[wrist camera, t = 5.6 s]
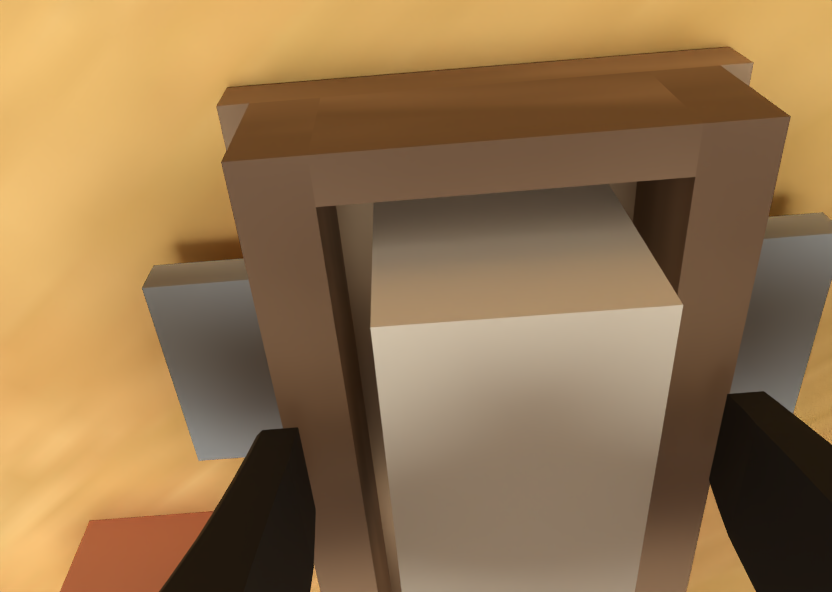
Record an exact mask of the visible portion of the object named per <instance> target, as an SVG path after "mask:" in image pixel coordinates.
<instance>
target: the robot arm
mask: <svg viewBox="0 0 832 592" xmlns="http://www.w3.org/2000/svg"><path fill="white" fill-rule="evenodd" d="M709 482H710V485H711V488H712V491H713V494H714V497H715V500H716V503H717V506H718V509H719V511H720V514H721V517H722V520H723V522H724V525H725V528H726V530H727V533H728V536H729V538H730V540H731V542H732V544H733V546H734V548H735V550H736V552H737V554H738V556H739V558H740V560H741V562H742V564H743V566H744V568H745V570H746V573H747V575H748V577H749V579H750V581H751V583H752V585H753V586H754V588H755V590H756V592H832V445H831V444H830V443H829V442H828V441H826V440H825V439H824V438H823V437H821V436H820V435H819V434H817V433H816V432H815V431H814V430H812V429H811V428H810V427H809V426H808V425H806V424H805V423H804V422H803V421H801V420H800V419H799V418H798V417H796V416H795V415H794V414H793V413H791V412H790V411H789V410H788V409H786V408H785V407H784V406H783V405H781V404H780V403H779V402H778V401H776V400H775V399H774V398H772V397H771V396H770V395H768V394H767V393H766V392H764V391H759V392H746V393H733V394H727V398H726V402H725V407H724V412H723V416H722V421H721V425H720V430H719V435H718V439H717V444H716V448H715V453H714V458H713V462H712V467H711V471H710V476H709ZM315 521H316V508H315V503H314V499H313V494H312V489H311V485H310V480H309V476H308V471H307V466H306V462H305V457H304V452H303V448H302V443H301V438H300V434H299V429H298V427H294V428H281V429H269V430H262V431H261V432H260V433H259V434H258V435H257V436H256V438H255V440H254V442H253V444H252V446H251V448H250V449H249V451H248V453H247V455H246V457H245V459H244V461H243V462H242V464H241V466H240V468H239V470H238V471H237V473H236V475H235V477H234V478H233V480H232V482H231V484H230V485H229V487H228V489H227V490H226V492H225V494H224V496H223V497H222V499H221V500H220V502H219V504H218V505H217V507H216V508H215V510H214V512H213V513H212V515H211V516H210V518H209V520H208V521H207V523H206V524H205V526H204V528H203V529H202V531H201V532H200V534H199V535H198V537H197V538H196V540H195V541H194V543H193V544H192V546H191V547H190V549H189V550H188V551H187V553H186V554H185V556H184V557H183V559H182V560H181V561H180V563H179V564H178V566H177V567H176V568H175V570H174V571H173V573H172V574H171V576H170V577H169V578H168V580H167V581H166V583H165V584H164V585H163V587H162V588H161V589H160V591H159V592H310V589H311V582H312V575H313V568H314V548H315Z"/></svg>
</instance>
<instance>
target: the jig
mask: <svg viewBox="0 0 832 592" xmlns="http://www.w3.org/2000/svg"><path fill="white" fill-rule="evenodd" d="M752 68H753V62H752V61H750V60H749V59H747V58H746V57H744V56H743V55H741V54H739V53H738V52H736V51H735V50H733V49H732V48H730V47H724V48H712V49H699V50H687V51H674V52H662V53H650V54H637V55H625V56H613V57H600V58H588V59H576V60H563V61H551V62H539V63H526V64H514V65H502V66H489V67H477V68H464V69H452V70H440V71H427V72H415V73H403V74H390V75H378V76H366V77H353V78H341V79H329V80H316V81H304V82H292V83H279V84H267V85H254V86H242V87H230V88H227V89H226V91H225V92H224V94H223V96H222V97H221V99H220V101H219V103H218V104H217V111H218V115H219V120H220V124H221V129H222V133H223V137H224V142H225V146H226V153H225V155H224V157H223V160H222V162H221V163H222V167H223V172H224V176H225V180H226V185H227V189H228V193H229V198H230V202H231V206H232V211H233V215H234V219H235V224H236V228H237V232H238V237H239V241H240V245H241V250H242V254H243V258H242V259H229V260H217V261H204V262H191V263H179V264H166V265H154V266H153V268H152V270H151V272H150V274H149V276H148V278H147V279H146V281H145V283H144V285H143V287H142V290H143V293H144V296H145V299H146V302H147V305H148V308H149V311H150V314H151V317H152V320H153V323H154V326H155V329H156V332H157V335H158V338H159V341H160V344H161V347H162V350H163V353H164V357H165V360H166V363H167V366H168V369H169V372H170V375H171V378H172V381H173V384H174V387H175V390H176V393H177V396H178V399H179V402H180V405H181V408H182V411H183V414H184V417H185V420H186V423H187V426H188V430H189V433H190V436H191V439H192V442H193V445H194V448H195V451H196V454H197V457H198V460H199V461H202V460H215V459H227V458H240V457H246V455H247V453H248V451H249V449H250V448H251V446H252V444H253V442H254V440H255V438H256V436H257V435H258V434H259V433H260V432H261V431H262V430H269V429H281V428H294V427H298V429H299V434H300V438H301V443H302V448H303V452H304V457H305V462H306V466H307V471H308V476H309V480H310V485H311V489H312V494H313V499H314V503H315V508H316V521H315V548H314V565H315V569H316V574H317V578H318V582H319V587H320V591H321V592H402V591H401V582H400V574H399V565H398V557H397V548H396V540H395V532H394V523H393V515H392V506H391V498H390V489H389V481H388V472H387V464H386V455H385V447H384V439H383V430H382V422H381V413H380V405H379V396H378V388H377V379H376V371H375V363H374V354H373V346H372V337H371V329H370V321H371V283H372V245H373V207H374V202H387V201H399V200H412V199H424V198H437V197H450V196H462V195H475V194H487V193H500V192H512V191H525V190H537V189H550V188H562V187H575V186H588V185H600V184H609V185H610V187H611V189H612V190H613V192H614V193H615V195H616V197H617V198H618V200H619V202H620V203H621V205H622V206H623V208H624V210H625V211H626V213H627V215H628V216H629V218H630V219H631V221H632V223H633V224H634V226H635V227H636V229H637V231H638V232H639V234H640V236H641V237H642V239H643V240H644V242H645V244H646V245H647V247H648V249H649V250H650V252H651V253H652V255H653V257H654V258H655V260H656V262H657V263H658V265H659V266H660V268H661V270H662V271H663V273H664V274H665V276H666V278H667V279H668V281H669V283H670V284H671V286H672V287H673V289H674V291H675V292H676V294H677V296H678V297H679V299H680V300H681V302H682V304H683V310H682V316H681V321H680V327H679V333H678V339H677V345H676V351H675V357H674V363H673V369H672V375H671V381H670V387H669V392H668V398H667V404H666V410H665V416H664V422H663V428H662V434H661V440H660V446H659V452H658V457H657V463H656V469H655V475H654V481H653V487H652V493H651V499H650V505H649V511H648V517H647V523H646V528H645V534H644V540H643V546H642V552H641V558H640V564H639V570H638V576H637V582H636V588H635V592H686V590H687V586H688V581H689V577H690V572H691V568H692V563H693V559H694V554H695V549H696V545H697V540H698V536H699V531H700V527H701V522H702V518H703V513H704V508H705V504H706V499H707V495H708V490H709V486H710V482H709V476H710V471H711V467H712V462H713V458H714V453H715V448H716V444H717V439H718V435H719V430H720V425H721V421H722V416H723V412H724V407H725V402H726V398H727V394H733V393H746V392H759V391H764V392H766V393H767V394H768V395H770V396H771V397H772V398H774V399H775V400H776V401H778V402H779V403H780V404H781V405H783V406H784V407H785V408H786V409H788V410H789V411H790V412H791V413H793V412H794V408H795V405H796V401H797V398H798V394H799V391H800V387H801V384H802V380H803V377H804V374H805V370H806V367H807V363H808V360H809V356H810V353H811V349H812V346H813V342H814V339H815V335H816V332H817V328H818V325H819V321H820V318H821V314H822V311H823V308H824V304H825V301H826V297H827V294H828V290H829V287H830V283H831V280H832V220H830V219H829V218H828V217H827V216H826V215H825V214H824V213H823V212H822V213H810V214H797V215H784V216H772V217H769V212H770V208H771V203H772V199H773V194H774V189H775V185H776V180H777V176H778V171H779V167H780V162H781V158H782V153H783V148H784V144H785V139H786V135H787V130H788V126H789V121H790V117H791V116H789V115H788V114H786V113H785V112H784V111H782V110H781V109H780V108H778V107H777V106H775V105H774V104H773V103H771V102H770V101H769V100H767V99H766V98H764V97H763V96H762V95H760V94H759V93H758V92H756V91H755V90H754V89H752V88H751V87H749V84H750V79H751V73H752Z"/></svg>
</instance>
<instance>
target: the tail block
mask: <svg viewBox="0 0 832 592" xmlns="http://www.w3.org/2000/svg"><path fill="white" fill-rule="evenodd" d="M213 512H214V511H210V512H197V513H184V514H171V515H158V516H144V517H131V518H118V519H105V520H91V521H89V524H88V526H87V529H86V531H85V533H84V536H83V538H82V540H81V543H80V545H79V548H78V550H77V552H76V555H75V557H74V560H73V562H72V564H71V567H70V569H69V571H68V574H67V576H66V579H65V581H64V583H63V586H62V588H61V591H60V592H159V591H160V589H161V588H162V587H163V585H164V584H165V583H166V581H167V580H168V578H169V577H170V576H171V574H172V573H173V571H174V570H175V568H176V567H177V566H178V564H179V563H180V561H181V560H182V559H183V557H184V556H185V554H186V553H187V551H188V550H189V549H190V547H191V546H192V544H193V543H194V541H195V540H196V538H197V537H198V535H199V534H200V532H201V531H202V529H203V528H204V526H205V524H206V523H207V521H208V520H209V518H210V516H211V515H212V513H213Z"/></svg>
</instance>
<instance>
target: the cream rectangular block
mask: <svg viewBox="0 0 832 592" xmlns="http://www.w3.org/2000/svg"><path fill="white" fill-rule="evenodd" d="M682 310H683V304H682V302H681V300H680V299H679V297H678V296H677V294H676V292H675V291H674V289H673V287H672V286H671V284H670V283H669V281H668V279H667V278H666V276H665V274H664V273H663V271H662V270H661V268H660V266H659V265H658V263H657V262H656V260H655V258H654V257H653V255H652V253H651V252H650V250H649V249H648V247H647V245H646V244H645V242H644V240H643V239H642V237H641V236H640V234H639V232H638V231H637V229H636V227H635V226H634V224H633V223H632V221H631V219H630V218H629V216H628V215H627V213H626V211H625V210H624V208H623V206H622V205H621V203H620V202H619V200H618V198H617V197H616V195H615V193H614V192H613V190H612V189H611V187H610V185H609V184H600V185H588V186H575V187H562V188H550V189H537V190H525V191H512V192H500V193H487V194H475V195H462V196H450V197H437V198H424V199H412V200H399V201H387V202H374V207H373V245H372V283H371V321H370V329H371V337H372V346H373V354H374V363H375V371H376V379H377V388H378V396H379V405H380V413H381V422H382V430H383V439H384V447H385V455H386V464H387V472H388V481H389V489H390V498H391V506H392V515H393V523H394V532H395V540H396V548H397V557H398V565H399V574H400V582H401V591H402V592H635V588H636V582H637V576H638V570H639V564H640V558H641V552H642V546H643V540H644V534H645V528H646V523H647V517H648V511H649V505H650V499H651V493H652V487H653V481H654V475H655V469H656V463H657V457H658V452H659V446H660V440H661V434H662V428H663V422H664V416H665V410H666V404H667V398H668V392H669V387H670V381H671V375H672V369H673V363H674V357H675V351H676V345H677V339H678V333H679V327H680V321H681V316H682Z"/></svg>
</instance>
